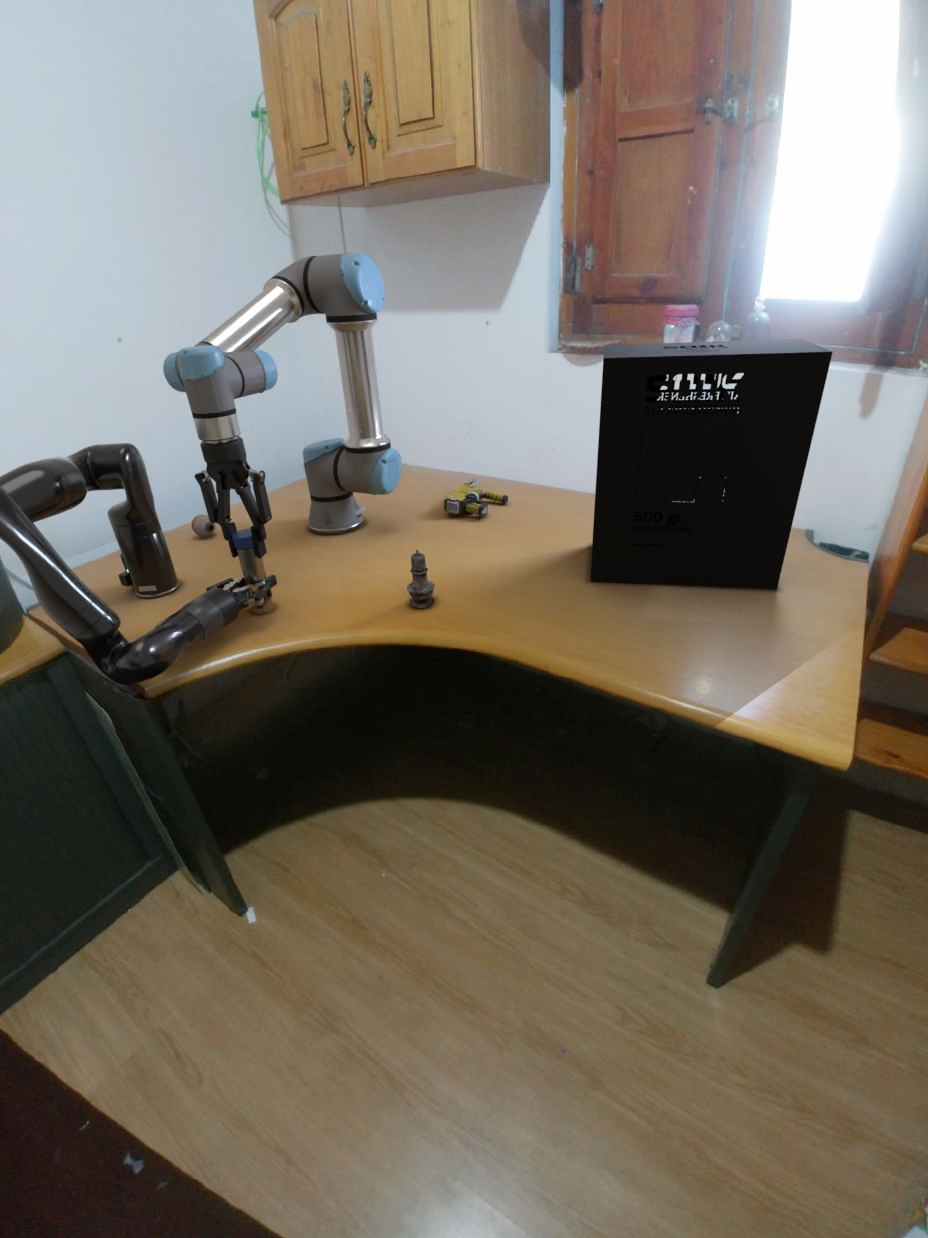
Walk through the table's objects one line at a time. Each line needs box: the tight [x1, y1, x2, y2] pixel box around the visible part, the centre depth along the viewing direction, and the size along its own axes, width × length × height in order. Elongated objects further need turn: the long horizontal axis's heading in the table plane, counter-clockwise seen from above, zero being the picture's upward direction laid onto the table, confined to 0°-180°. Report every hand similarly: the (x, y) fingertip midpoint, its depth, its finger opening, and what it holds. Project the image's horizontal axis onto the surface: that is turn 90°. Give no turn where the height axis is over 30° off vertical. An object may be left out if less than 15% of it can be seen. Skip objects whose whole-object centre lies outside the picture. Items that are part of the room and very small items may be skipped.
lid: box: [232, 528, 255, 549], centre depth 120 cm, size 5×5×2 cm
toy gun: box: [443, 478, 509, 519], centre depth 176 cm, size 5×24×15 cm
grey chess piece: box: [406, 549, 436, 609], centre depth 124 cm, size 6×6×12 cm
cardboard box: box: [589, 338, 834, 590], centre depth 125 cm, size 38×20×45 cm, turn 78°
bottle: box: [236, 547, 275, 615], centre depth 124 cm, size 4×4×17 cm
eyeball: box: [191, 514, 216, 538], centre depth 166 cm, size 6×6×6 cm
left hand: (265, 577), depth 127 cm, fingers closed on bottle, 4 cm apart
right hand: (249, 554), depth 122 cm, fingers closed on lid, 5 cm apart
